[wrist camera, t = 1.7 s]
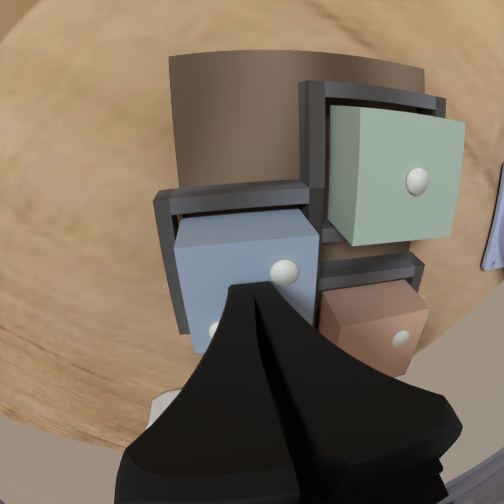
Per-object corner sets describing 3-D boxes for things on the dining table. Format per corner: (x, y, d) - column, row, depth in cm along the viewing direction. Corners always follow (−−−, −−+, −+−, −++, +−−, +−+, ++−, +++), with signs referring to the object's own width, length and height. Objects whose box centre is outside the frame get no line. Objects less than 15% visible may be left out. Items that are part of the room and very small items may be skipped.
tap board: (414, 70, 11) (445, 69, 9) (377, 344, 19) (392, 369, 17) (151, 63, 10) (138, 54, 8) (198, 370, 18) (198, 401, 16)
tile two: (404, 279, 14) (432, 310, 12) (386, 344, 16) (406, 376, 14) (321, 291, 14) (342, 329, 11) (314, 358, 16) (328, 397, 13)
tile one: (426, 115, 10) (469, 123, 8) (417, 213, 12) (452, 238, 10) (329, 105, 10) (363, 107, 8) (327, 218, 12) (354, 248, 10)
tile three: (299, 209, 12) (321, 237, 9) (296, 303, 14) (312, 344, 11) (180, 218, 11) (172, 251, 9) (196, 313, 13) (195, 357, 11)
